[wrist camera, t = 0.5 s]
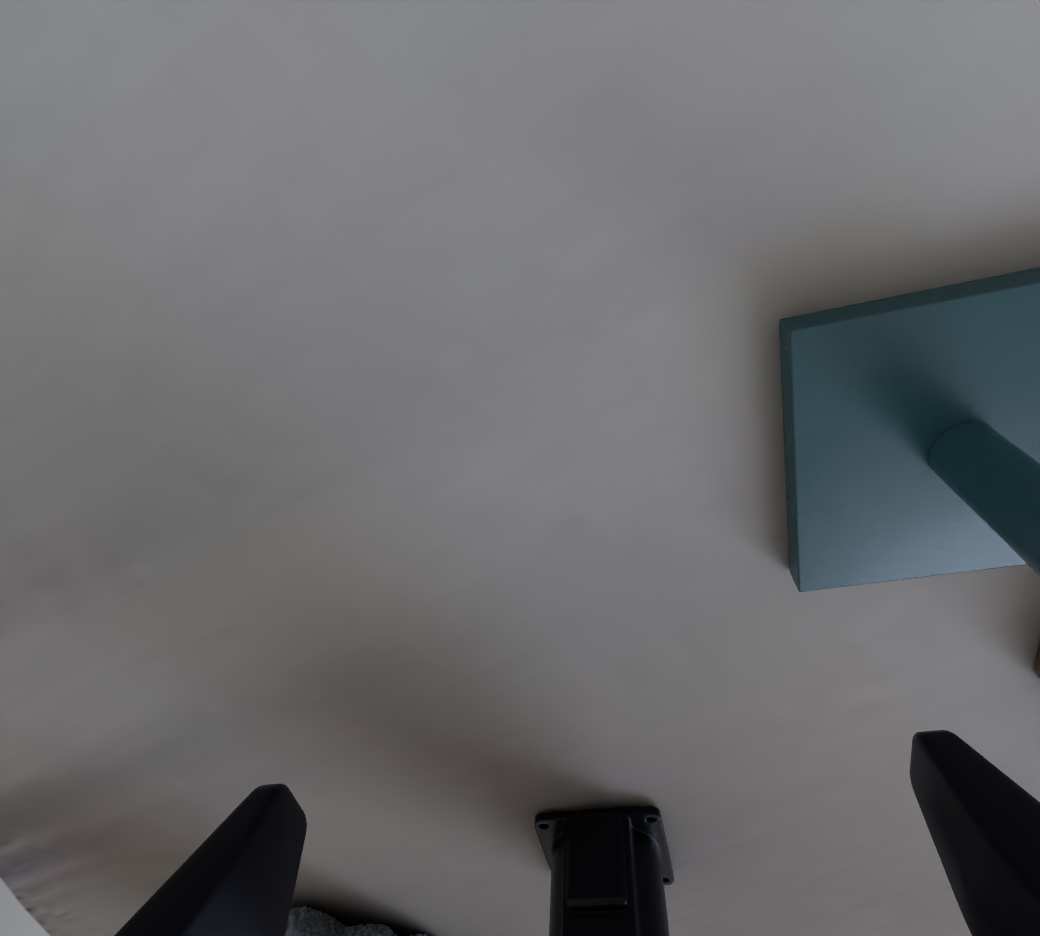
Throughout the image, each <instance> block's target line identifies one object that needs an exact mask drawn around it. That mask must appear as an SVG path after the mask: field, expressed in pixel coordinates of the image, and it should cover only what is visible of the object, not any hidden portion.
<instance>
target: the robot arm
mask: <svg viewBox="0 0 1040 936" xmlns="http://www.w3.org/2000/svg"><path fill="white" fill-rule="evenodd" d="M910 779H911V783H912V787H913V790H914V793H915V796H916V798H917V801H918V803H919V806H920V808H921V811H922V813H923V816H924V818H925V821H926V823H927V826H928V829H929V831H930V834H931V836H932V839H933V841H934V844H935V846H936V849H937V851H938V854H939V856H940V859H941V862H942V864H943V867H944V869H945V872H946V874H947V877H948V879H949V882H950V884H951V887H952V890H953V892H954V895H955V897H956V900H957V902H958V905H959V907H960V909H961V912H962V914H963V917H964V919H965V921H966V924H967V926H968V928H969V930H970V932H971V934H972V936H1040V802H1039V801H1037V800H1036V799H1035V798H1034V797H1032V796H1031V795H1030V794H1029V793H1027V792H1026V791H1025V790H1024V789H1022V788H1021V787H1020V786H1019V785H1017V784H1016V783H1015V782H1014V781H1013V780H1011V779H1010V778H1009V777H1008V776H1006V775H1005V774H1004V773H1003V772H1001V771H1000V770H999V769H998V768H996V767H995V766H994V765H993V764H991V763H990V762H989V761H988V760H986V759H985V758H984V757H983V756H981V755H980V754H979V753H978V752H977V751H975V750H974V749H973V748H972V747H970V746H969V745H968V744H967V743H965V742H964V741H963V740H962V739H960V738H959V737H958V736H957V735H955V734H953V733H952V732H949V731H946V730H939V731H926V732H918V733H916V734H915V735H914V736H913V740H912V751H911V763H910ZM306 826H307V823H306V817H305V814H304V812H303V810H302V809H301V807H300V805H299V804H298V802H297V801H296V799H295V797H294V796H293V794H292V793H291V791H290V790H289V788H288V787H287V786H286V785H284V784H270V785H262V786H259V787H257V788H256V789H255V790H254V791H252V792H251V793H250V794H249V796H248V797H247V798H246V799H245V800H244V801H243V802H242V803H241V804H240V805H239V806H238V807H237V808H236V809H235V810H234V811H233V812H232V813H231V814H230V815H229V816H228V817H227V819H226V820H225V821H224V822H223V823H222V824H221V825H220V826H219V827H218V828H217V829H216V830H215V831H214V832H213V833H212V834H211V835H210V836H209V837H208V838H207V839H206V840H205V841H204V843H203V844H202V845H201V846H200V847H199V848H198V849H197V850H196V851H195V852H194V853H193V854H192V855H191V856H190V857H189V858H188V859H187V860H186V861H185V862H184V863H183V864H182V866H181V867H180V868H179V869H178V870H177V871H176V872H175V873H174V874H173V875H172V876H171V877H170V878H169V879H168V880H167V881H166V882H165V883H164V884H163V885H162V886H161V887H160V888H159V890H158V891H157V892H156V893H155V894H154V895H153V896H152V897H151V898H150V899H149V900H148V901H147V902H146V903H145V904H144V905H143V906H142V907H141V908H140V909H139V910H138V911H137V913H136V914H135V915H134V916H133V917H132V918H131V919H130V920H129V921H128V922H127V923H126V924H125V925H124V926H123V927H122V928H121V929H120V930H119V931H118V932H117V933H116V934H115V936H285V932H286V928H287V924H288V919H289V914H290V909H291V904H292V899H293V894H294V889H295V884H296V879H297V874H298V869H299V864H300V860H301V855H302V850H303V845H304V840H305V835H306ZM535 829H536V832H537V835H538V837H539V840H540V842H541V845H542V848H543V850H544V853H545V856H546V858H547V861H548V864H549V866H550V869H551V895H550V924H549V936H669V927H668V918H667V909H666V900H665V891H664V885H670V884H672V883H673V882H674V876H673V870H672V865H671V860H670V856H669V851H668V846H667V842H666V837H665V832H664V828H663V823H662V818H661V814H660V811H659V809H658V808H656V807H653V806H645V807H629V808H614V809H598V810H583V811H567V812H552V813H540V814H538V815H536V816H535Z"/></svg>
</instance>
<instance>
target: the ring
mask: <svg viewBox="0 0 1040 936" xmlns="http://www.w3.org/2000/svg"><path fill="white" fill-rule="evenodd" d="M1034 669H1035V671H1036V672H1037V673H1038V675H1039V676H1040V644H1039V648H1038V653H1037V658H1036V663H1035V667H1034Z"/></svg>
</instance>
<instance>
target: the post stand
mask: <svg viewBox="0 0 1040 936" xmlns="http://www.w3.org/2000/svg"><path fill="white" fill-rule="evenodd" d="M779 328H780V352H781V375H782V399H783V423H784V447H785V471H786V494H787V518H788V542H789V566H790V573H791V575H792V578H793V580H794V582H795V584H796V586H797V588H798V590H799V592H803V591H811V590H820V589H828V588H836V587H844V586H852V585H860V584H869V583H877V582H885V581H893V580H901V579H909V578H918V577H926V576H934V575H942V574H950V573H959V572H967V571H975V570H983V569H991V568H999V567H1008V566H1016V565H1024V564H1028V565H1029V566H1030V567H1031V568H1032V569H1033V570H1034V571H1035V572H1036V573H1037V574H1038V575H1039V576H1040V268H1036V269H1031V270H1026V271H1021V272H1016V273H1011V274H1006V275H1001V276H996V277H991V278H986V279H981V280H976V281H971V282H966V283H961V284H956V285H951V286H946V287H941V288H936V289H931V290H926V291H921V292H916V293H911V294H906V295H901V296H896V297H891V298H886V299H881V300H876V301H871V302H866V303H861V304H856V305H851V306H846V307H841V308H836V309H831V310H826V311H821V312H816V313H811V314H806V315H801V316H796V317H791V318H786V319H781V320H780V321H779Z"/></svg>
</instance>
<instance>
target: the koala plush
mask: <svg viewBox="0 0 1040 936" xmlns="http://www.w3.org/2000/svg"><path fill="white" fill-rule="evenodd" d="M285 936H398V935H396V934H395V933H393V930H390V927H388V926H386V925H384V924H367V925H365V926H364V925H363V924H360V925H358V926H352V927H347V926H345V925H344V924H341V922H339V921H336V919H335V918H333V917H330V916H328V915H327V914H326V913H323V914H322V912H321V911H318V910H314V909H313V910H312V908H311V907H308V908H307V907H306V906H304V907H301V908H299V907H297V908H292V909H290V914H289V919H288V924H287V928H286V932H285ZM409 936H428V935H426V934H423V935H421V934H419V933H418V934H415V935H412V934H411V935H409Z"/></svg>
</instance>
